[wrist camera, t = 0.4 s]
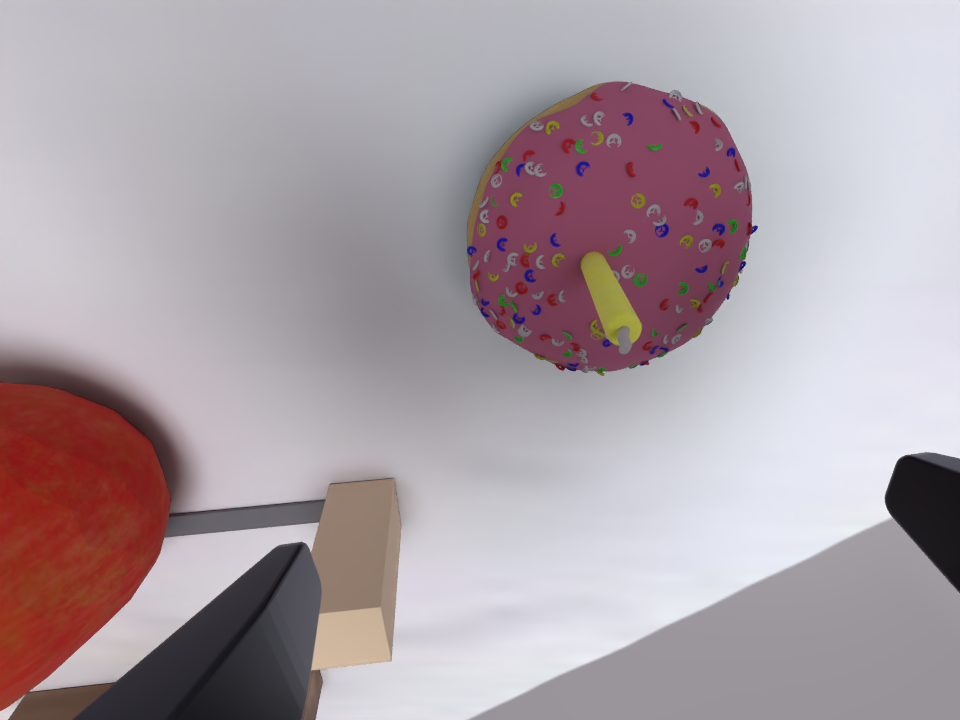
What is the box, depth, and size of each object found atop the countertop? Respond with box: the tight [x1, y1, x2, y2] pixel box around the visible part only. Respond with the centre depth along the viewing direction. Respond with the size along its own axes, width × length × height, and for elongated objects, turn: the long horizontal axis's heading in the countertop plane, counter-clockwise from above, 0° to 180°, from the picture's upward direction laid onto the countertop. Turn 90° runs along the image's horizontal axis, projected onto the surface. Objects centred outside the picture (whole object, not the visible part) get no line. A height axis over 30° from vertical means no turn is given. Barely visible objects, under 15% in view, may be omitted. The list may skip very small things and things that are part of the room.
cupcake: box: [467, 82, 758, 376], centre depth 14 cm, size 9×8×12 cm
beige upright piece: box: [164, 478, 401, 670], centre depth 21 cm, size 3×28×7 cm, turn 93°
